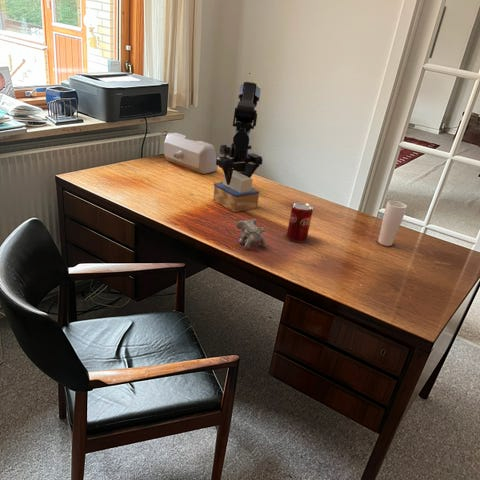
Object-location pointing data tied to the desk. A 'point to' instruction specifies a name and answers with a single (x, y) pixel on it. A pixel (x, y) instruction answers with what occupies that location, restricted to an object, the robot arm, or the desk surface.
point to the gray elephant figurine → (250, 232)
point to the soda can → (299, 222)
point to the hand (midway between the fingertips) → (237, 183)
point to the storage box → (235, 200)
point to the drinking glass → (391, 222)
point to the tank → (190, 153)
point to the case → (239, 182)
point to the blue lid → (233, 192)
